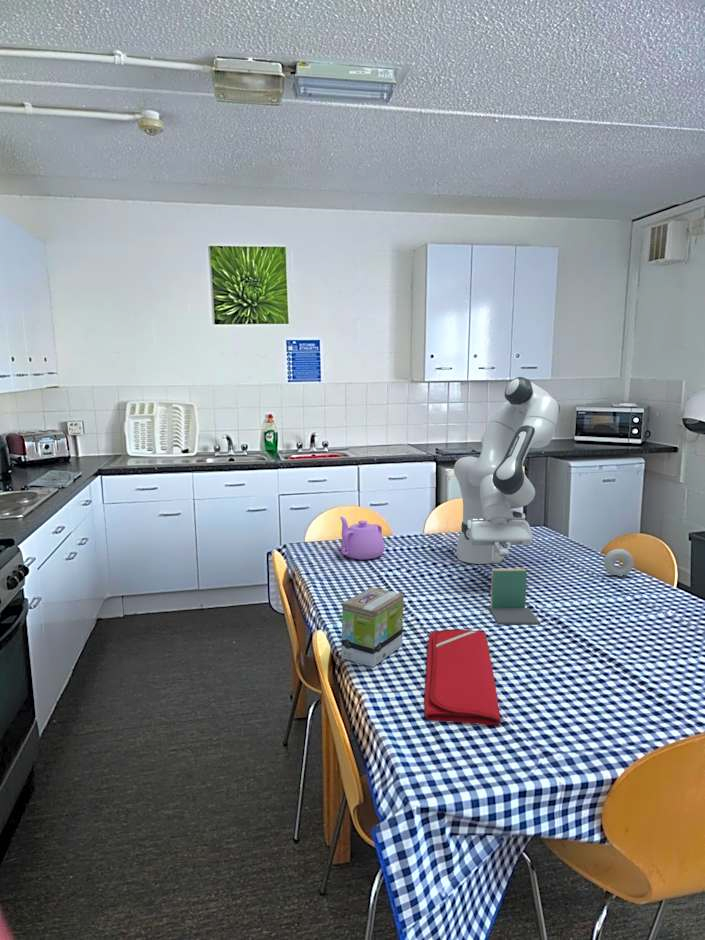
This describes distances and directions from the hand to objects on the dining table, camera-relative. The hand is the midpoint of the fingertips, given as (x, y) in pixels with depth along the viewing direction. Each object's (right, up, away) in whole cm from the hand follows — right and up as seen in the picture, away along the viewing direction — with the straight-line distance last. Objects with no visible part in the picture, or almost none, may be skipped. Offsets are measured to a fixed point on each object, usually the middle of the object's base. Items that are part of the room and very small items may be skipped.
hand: (504, 555), depth 201 cm
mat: (-1, -16, -16) cm, 23 cm away
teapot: (-46, -6, +47) cm, 66 cm away
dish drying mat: (-23, -22, -51) cm, 61 cm away
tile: (-1, -15, -9) cm, 17 cm away
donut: (+45, -10, +20) cm, 50 cm away
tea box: (-43, -20, -39) cm, 62 cm away
